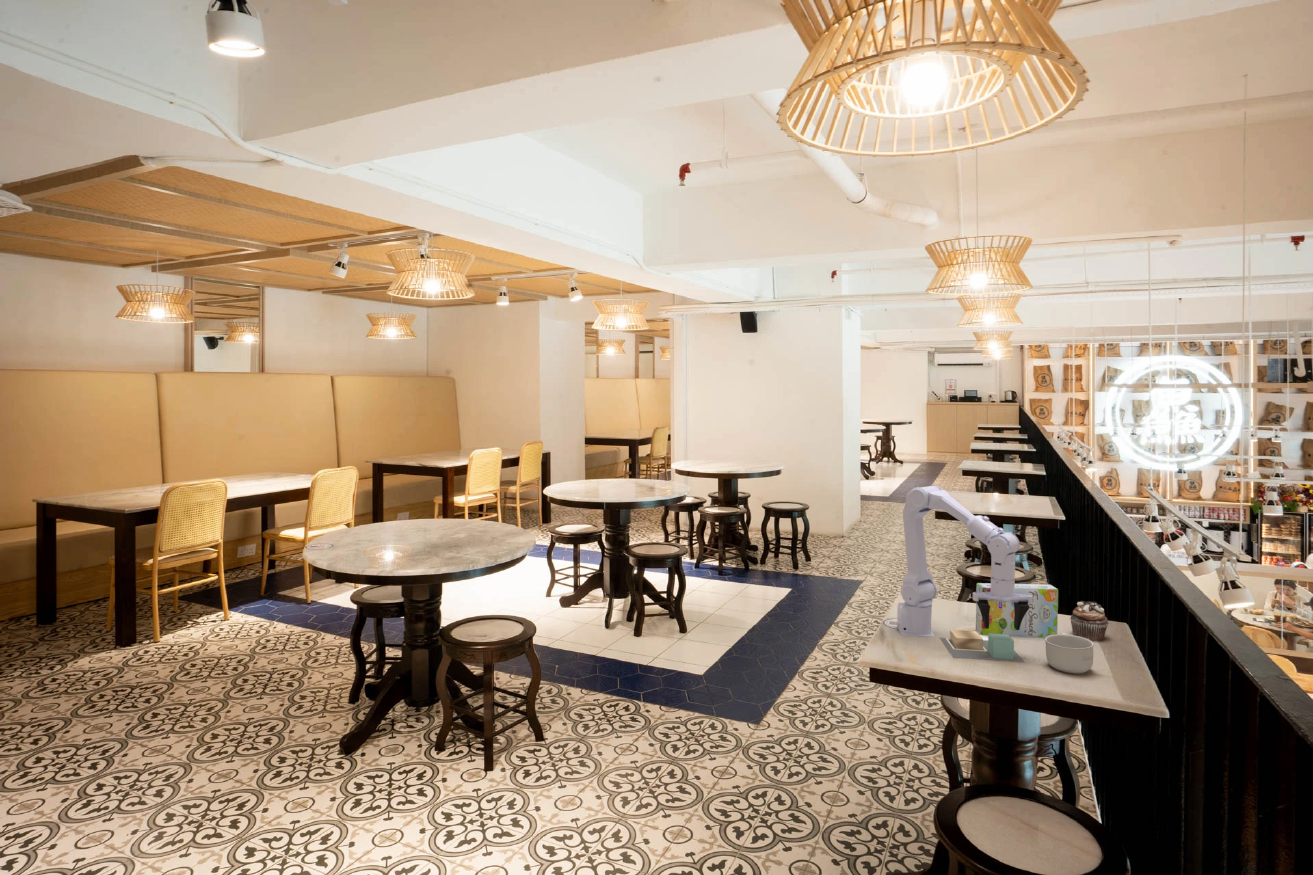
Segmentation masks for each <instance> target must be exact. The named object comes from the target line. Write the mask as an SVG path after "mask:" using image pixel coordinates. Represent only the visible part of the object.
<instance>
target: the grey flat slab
mask: <svg viewBox="0 0 1313 875" xmlns="http://www.w3.org/2000/svg"><path fill="white" fill-rule="evenodd" d="M939 639H940V641H941V642H942V643H943V645H944V647H945V648H946V650H947V652H948V653H949V654H950V655H951V657H952V658H953V659H963V660H964V659H965V660H966V659H967V660H980V661H981V660H983V661H996V662H998V661H999V662H1015V663H1016V662H1017V663H1026V660H1024V659H1023V658H1022V657H1021V655H1019V654H1018V653H1017V652H1016V650H1015V649H1014V658H1013V659H998V658H993V657H992V656H991V655H990V654H989V652H988V640H986V639H983V650H973V649H956V648H955V646H954V645H953V644H952V642H951V641H950V637H948V638H947V637H939Z"/></svg>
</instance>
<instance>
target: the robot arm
mask: <svg viewBox="0 0 1313 875" xmlns="http://www.w3.org/2000/svg"><path fill="white" fill-rule="evenodd" d="M905 498H906V499H905V500H906V501H905V503H904V506H903V510H902V520H903V521H902V522H903V532H904V541H905V543H904V544H905V553H906V564H907V565H906V566H907V572H906V574H905V575H904V576H903V578H902V587H901V589H900V592H901V597H902V600H904V602H899V603H898V604H897V614H896V615H897V621H896V628H897V630H898V632H899V634H900V635H903V636H918V637H919V636H920V637H921V636H922V637H935V634H934V633H933V631H932V615H933V614H932V613H933V612H932V611H933V609H932V607H933V600H934V599H935V598H936V597H937V594H938V588H937V586H936V584H935V581H934V576H933V575H932V574H931V573H930V572H929V571H928V565H927V564H928V563H927V562H928V561H927V552H926V540H925V531H924V519H923V518H924V517H925V516H926V515H927V514H928V513H929V512H930V511H931V510H943V511H944V512H946V513H948V514H949V515H950V516H952V517H954V518H955V519H956V520H958V521H960V522H961V523H963V524H964V525H966V526H965V527H966V530H967V532H968V533H969V534H971V535H972V536H974V538H976V539H977V540H979V542H981V543H983V544H984V545H986V547H987V550H988V552H989V553H990V556H991V557H990V559H991V567H990V569H991V570H990V571H991V572H990V583H991V592H976V591H974V592H972V600H973V601H974V602H975V603H976V602H977V605H978V607H979V609H980V612H981V615H982V618H983V623H984V627H985V628H986V629H989V612H990V605H989V602H988V601H998V602H1014V614H1015V615H1014V628H1015V629H1016V630H1019V629H1020V625H1021V622H1022V620H1023V618H1024V616H1025V614H1026V612H1027V611H1028V610H1029V605H1028V604H1032V601H1033V597H1032V596H1031V595H1026V594H1017V593H1014V587H1015V584H1016V582H1015V581H1016V580H1015V579H1016V552H1018V551H1019V550H1020V540H1019V538H1018V537H1017V535H1015V533H1013V532H1010V531H1005V529H1004V528H1002V527H998V525H995V524H994V523H993V522H991V521H990V518H989V517H988V516H987V515H984V516H983V515H974V514H973V513H972V512H970V511H969V510H968V509H967V508H965V506H963V505H962V504H960V503H959V502H958V501H957V500H956V499H955V498H953V497H952V496H951V495H950V494H949V492H948V491H946V490H945V489H943V488H941V487H940V486H938V485H929V486H921V487H918V486H917V487H913V488H912V489H911V490H909V491H908V492H907V493H906V494H905Z"/></svg>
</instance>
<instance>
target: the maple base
mask: <svg viewBox="0 0 1313 875" xmlns="http://www.w3.org/2000/svg"><path fill="white" fill-rule="evenodd" d="M949 630H950V631H949V638H950V641H951V642H952V644H953V645H954V646H955V648H956V649H973V650H983V640H984V639H983V637H982V635H981V634H980V633H979V632H978V631H977V630H966V629H965V630H962V629H961V630H960V629H949Z"/></svg>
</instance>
